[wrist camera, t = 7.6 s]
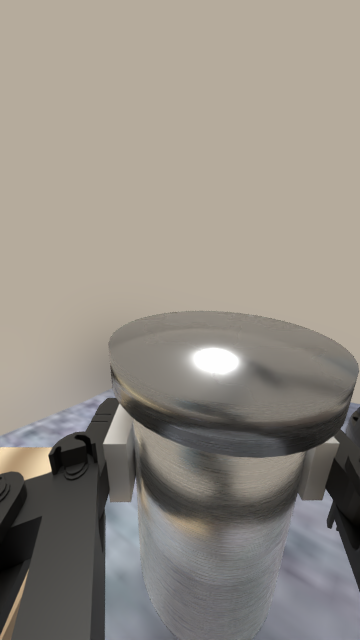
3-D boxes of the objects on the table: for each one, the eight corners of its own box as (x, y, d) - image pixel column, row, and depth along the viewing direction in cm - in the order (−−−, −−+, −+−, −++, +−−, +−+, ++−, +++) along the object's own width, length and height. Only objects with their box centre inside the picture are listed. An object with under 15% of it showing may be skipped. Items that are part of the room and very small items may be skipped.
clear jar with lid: (250, 460, 14) (271, 311, 11) (340, 683, 6) (473, 402, 4) (140, 462, 13) (134, 310, 11) (102, 698, 6) (48, 406, 3)
